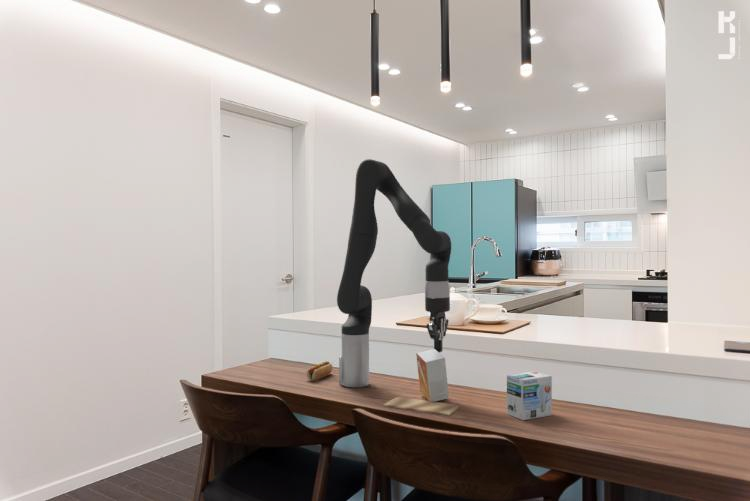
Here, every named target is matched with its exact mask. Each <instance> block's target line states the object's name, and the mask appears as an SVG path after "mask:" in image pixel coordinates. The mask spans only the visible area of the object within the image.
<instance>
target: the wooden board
mask: <svg viewBox="0 0 750 501" xmlns="http://www.w3.org/2000/svg"><path fill="white" fill-rule="evenodd" d="M383 407H388V408H389V407H390V408H395V409H402V410H408V411H409V410H410V411H415V412H422V413H429V414H436V415H442V416H452V414H453V413H455V412H456V411H457V410H459V409H460V408H461V405H460V404H453V403H445V402H438V401H435V402H432V401H428V400H425V399H424V400H422V399H416V398H408V397H402V396H396V397H395V398H392V399H390V400H389V401H387V402H385V403H384V404H383Z"/></svg>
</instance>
